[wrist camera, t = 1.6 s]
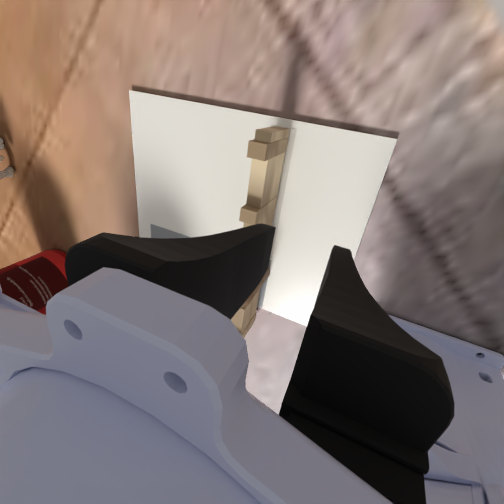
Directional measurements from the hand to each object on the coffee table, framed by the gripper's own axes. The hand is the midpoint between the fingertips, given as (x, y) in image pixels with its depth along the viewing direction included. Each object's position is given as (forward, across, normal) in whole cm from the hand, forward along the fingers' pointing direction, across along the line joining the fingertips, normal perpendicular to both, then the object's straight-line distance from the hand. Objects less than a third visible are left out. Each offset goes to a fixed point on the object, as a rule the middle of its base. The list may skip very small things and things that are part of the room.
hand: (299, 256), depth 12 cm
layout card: (+10, +8, +4) cm, 13 cm away
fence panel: (+9, +4, +1) cm, 10 cm away
